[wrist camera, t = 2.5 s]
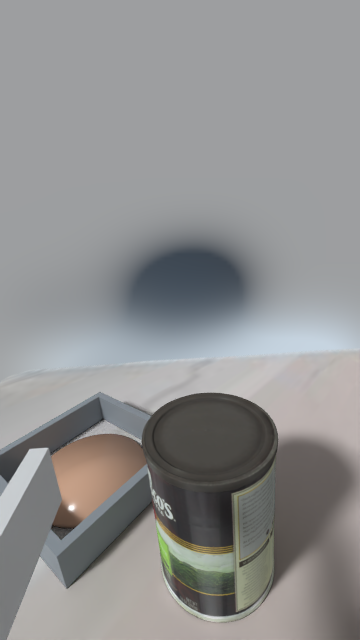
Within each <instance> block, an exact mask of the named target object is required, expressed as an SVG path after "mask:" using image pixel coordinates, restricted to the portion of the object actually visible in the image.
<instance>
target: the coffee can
mask: <svg viewBox="0 0 360 640" xmlns="http://www.w3.org/2000/svg"><path fill="white" fill-rule="evenodd" d="M277 446H278V433H277V429H276V426H275V424H274V422H273V420H272V419H271V417H270V416H269V415H268V414H267V413H266V412H265V411H264V410H263V409H262V408H260V407H259V406H258V405H256V404H254V403H252V402H251V401H248V400H246V399H243V398H241V397H238V396H234V395H229V394H222V393H199V394H193V395H188V396H184V397H181V398H178V399H176V400H173V401H171V402H169V403H167V404H165V405H164V406H162V407H161V408H160V409H158V410H157V411H156V412H155V413H154V414H153V415H152V416H151V417H150V419H149V420H148V421H147V423H146V425H145V427H144V429H143V433H142V448H143V453H144V456H145V459H146V462H147V469H148V475H149V481H150V489H151V495H152V502H153V508H154V514H155V520H156V527H157V534H158V540H159V546H160V554H161V568H162V573H163V577H164V580H165V583H166V586H167V588H168V590H169V591H170V593H171V595H172V596H173V598H174V599H175V600H176V601H177V603H178V604H179V605H180V606H181V607H182V608H183V609H185V610H186V611H187V612H189V613H190V614H192V615H194V616H196V617H198V618H200V619H203V620H206V621H210V622H218V623H223V622H232V621H236V620H239V619H242V618H244V617H246V616H247V615H249V614H250V613H252V612H253V611H254V610H255V609H257V608H258V607H259V606H260V604H261V603H262V602H263V601H264V599H265V598H266V596H267V594H268V592H269V590H270V588H271V585H272V582H273V576H274V556H273V555H274V516H275V514H274V508H275V465H276V452H277Z"/></svg>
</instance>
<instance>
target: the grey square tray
mask: <svg viewBox="0 0 360 640" xmlns="http://www.w3.org/2000/svg"><path fill="white" fill-rule="evenodd" d="M150 417H151V416H150V415H148V414H146V413H144V412H142V411H140V410H137V409H135V408H133V407H131V406H129V405H127V404H125V403H122V402H120V401H118V400H116V399H114V398H112V397H110V396H108V395H105V394H103V393H101V392H99V393H97V394H95V395H94V396H92V397H90V398H89V399H87V400H85V401H83V402H82V403H80V404H78V405H77V406H75V407H73V408H71V409H70V410H68V411H66V412H64V413H63V414H61V415H59V416H58V417H56V418H54V419H52V420H51V421H49V422H47V423H45V424H44V425H42V426H40V427H39V428H37V429H35V430H33V431H32V432H30V433H28V434H27V435H25V436H23V437H21V438H20V439H18V440H16V441H14V442H13V443H11V444H9V445H8V446H6V447H4V448H2V449H1V450H0V496H1V495H2V493H3V492H4V490H5V488H6V487H7V485H8V483H7V482H8V481H9V480H11V479H12V477H13V475H14V474H15V472H16V471H17V469H18V467H19V466H20V464H21V462H22V461H23V459H24V458H25V456H26V454H27V453H28V451H29V449H36V448H49V451H50V453H52V452H53V451H55V450H56V449H58V448H59V447H61V446H62V445H64V444H65V443H67V442H68V441H70V440H71V439H73V438H74V437H76V436H77V435H79V434H80V433H82V432H83V431H85V430H87V429H88V428H90V427H91V426H93V425H94V424H96V423H97V422H99V421H100V420H102V419H105V420H106V421H108V422H110V423H112V424H114V425H116V426H117V427H119V428H121V429H123V430H125V431H127V432H128V433H130V434H132V435H134V436H136V437H137V438H139V439H141V440H142V433H143V429H144V427H145V425H146V423H147V421H148V420H149V419H150ZM151 502H152V495H151V489H150V481H149V475H148V469H147V464H146V465H145V466H144V467H143V468H141V469H140V470H139V471H138V472H137V473H136V474H135V475H134V476H132V477H131V478H130V479H129V480H128V481H127V482H126V483H125V484H123V485H122V486H121V487H120V488H119V489H118V490H117V491H116V492H115V493H113V494H112V495H111V496H110V497H109V498H108V499H107V500H106V501H104V502H103V503H102V504H101V505H100V506H99V507H98V508H97V509H95V510H94V511H93V512H92V513H91V514H90V515H89V516H88V517H87V518H85V519H84V520H83V521H82V522H81V523H80V524H79V525H78V526H76V527H75V528H74V529H73V530H72V531H71V532H70V533H69V534H67V535H66V536H65V537H64V538H63V539H62V540H60V538H59V537H58V536H57V535H56V534H55V533H54V532H53V531H52V530H51V529H50V531H49V534H48V536H47V539H46V541H45V544H44V546H43V549H42V551H41V554H40V557H41V558H42V559H43V560H44V562H45V563H46V564H47V565H48V566H49V568H50V569H51V570H52V571H53V573H54V574H55V575H56V576H57V577H58V579H59V580H60V581H61V582H62V584H63V585H64V586H65V587H66V588H68V587H69V586H70V585H71V584H72V583H73V582H74V581H75V580H76V579H77V578H78V577H79V576H80V575H81V574H82V573H83V572H84V571H85V570H86V568H87V567H88V566H89V565H90V564H91V563H92V562H93V561H94V560H95V559H96V558H97V557H98V556H99V555H100V554H101V553H102V552H103V551H104V550H105V549H106V548H107V547H108V546H109V545H110V544H111V543H112V542H113V541H114V540H115V539H116V538H117V537H118V536H119V535H120V534H121V533H122V531H123V530H124V529H125V528H126V527H127V526H128V525H129V524H130V523H131V522H132V521H133V520H134V519H135V518H136V517H137V516H138V515H139V514H140V513H141V512H142V511H143V510H144V509H145V508H146V507H147V506H148V505H149V504H150V503H151Z"/></svg>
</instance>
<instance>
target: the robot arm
mask: <svg viewBox="0 0 360 640" xmlns="http://www.w3.org/2000/svg"><path fill="white" fill-rule="evenodd" d="M61 501H62V497H61V493H60V489H59V486H58V482H57V478H56V474H55V470H54V466H53V463H52V459H51V455H50V451H49V448H36V449H29V451H28V453H27V454H26V456H25V458H24V459H23V461H22V462H21V464H20V466H19V467H18V469H17V471H16V472H15V474H14V475H13V477H12V479H11V480H10V482H9V483H8V485H7V487H6V488H5V490H4V492H3V493H2V495H1V496H0V640H7V637H8V635H9V632H10V629H11V627H12V624H13V622H14V619H15V617H16V614H17V612H18V609H19V607H20V604H21V602H22V599H23V597H24V594H25V592H26V589H27V587H28V584H29V582H30V579H31V577H32V574H33V572H34V569H35V567H36V564H37V561H38V559H39V556H40V554H41V551H42V549H43V546H44V544H45V541H46V539H47V536H48V534H49V531H50V529H51V526H52V524H53V521H54V519H55V516H56V514H57V511H58V509H59V506H60V504H61Z"/></svg>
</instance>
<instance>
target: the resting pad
mask: <svg viewBox="0 0 360 640" xmlns="http://www.w3.org/2000/svg"><path fill="white" fill-rule="evenodd" d="M51 459H52V463H53V466H54V470H55V474H56V478H57V482H58V486H59V489H60V493H61V497H62V501H61V504H60V506H59V509H58V511H57V514H56V516H55V519H54V521H53V524H52V525H53V526H56V527H62V528H75V527H76V526H78V525H79V524H80V523H81V522H82V521H83V520H84V519H85V518H87V517H88V516H89V515H90V514H91V513H92V512H93V511H94V510H95V509H97V508H98V507H99V506H100V505H101V504H102V503H103V502H104V501H106V500H107V499H108V498H109V497H110V496H111V495H112V494H113V493H115V492H116V491H117V490H118V489H119V488H120V487H121V486H122V485H123V484H125V483H126V482H127V481H128V480H129V479H130V478H131V477H132V476H134V475H135V474H136V473H137V472H138V471H139V470H140V469H141V468H143V467H144V466H145V465H146V464H147V462H146V459H145V456H144V453H143V449H142V448H141V446H140V445H139V444H138V443H137V442H135V441H134V440H132V439H130V438H128V437H125V436H122V435H117V434H100V435H94V436H89V437H86V438H83V439H80V440H77V441H75V442H73V443H71V444H69V445H67V446H65V447H63V448H62V449H60V450H59V451H57V452H56V453H55V454H53V455H52V456H51Z"/></svg>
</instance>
